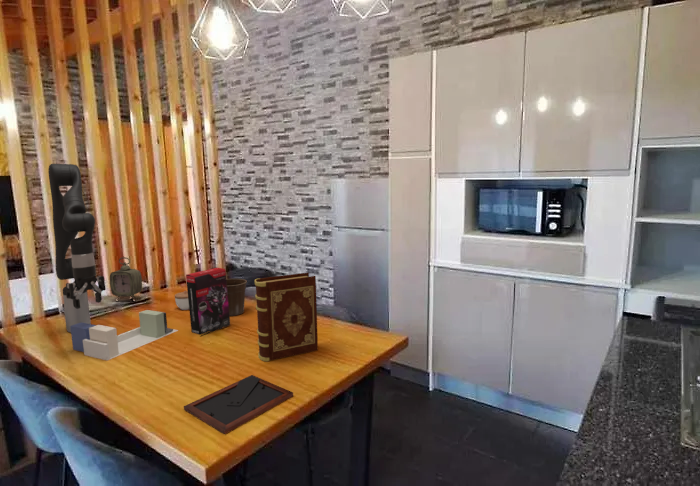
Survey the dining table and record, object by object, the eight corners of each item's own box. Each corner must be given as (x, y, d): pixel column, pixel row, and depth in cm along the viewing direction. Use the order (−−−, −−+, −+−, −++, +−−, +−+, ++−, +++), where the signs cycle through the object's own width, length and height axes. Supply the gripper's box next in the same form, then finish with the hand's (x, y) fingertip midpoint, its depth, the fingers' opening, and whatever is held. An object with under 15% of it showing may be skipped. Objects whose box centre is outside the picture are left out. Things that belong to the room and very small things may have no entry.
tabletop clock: (111, 302, 237) (107, 258, 233) (122, 297, 246) (118, 255, 242) (135, 302, 235) (130, 258, 231) (145, 298, 243) (141, 255, 240)
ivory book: (91, 354, 162) (88, 328, 161) (101, 350, 166) (98, 324, 164) (109, 358, 158) (106, 331, 156) (118, 354, 162) (116, 328, 160)
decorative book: (262, 362, 155) (258, 283, 150) (256, 355, 162) (252, 278, 157) (318, 350, 165) (316, 275, 160) (310, 343, 172) (308, 272, 167)
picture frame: (252, 379, 143) (184, 411, 124) (252, 374, 143) (183, 405, 124) (293, 397, 131) (224, 436, 111) (293, 391, 130) (224, 429, 111)
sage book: (140, 334, 182) (138, 312, 180) (148, 331, 186) (146, 309, 184) (157, 338, 178) (155, 315, 176) (165, 334, 181) (163, 312, 180)
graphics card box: (199, 337, 181) (195, 275, 176) (189, 334, 184) (184, 274, 180) (230, 326, 195) (227, 268, 191) (220, 323, 198) (217, 266, 194)
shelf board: (84, 357, 162) (82, 340, 161) (157, 328, 192) (156, 313, 191) (107, 363, 156) (105, 345, 155) (178, 332, 187) (177, 317, 186)
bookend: (151, 330, 186) (149, 310, 185) (158, 327, 190) (156, 308, 188) (165, 333, 182) (164, 313, 181) (173, 330, 186) (171, 310, 184)
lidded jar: (182, 304, 229) (181, 288, 228) (201, 305, 228) (199, 288, 226) (171, 311, 219) (170, 293, 217) (190, 311, 217) (189, 294, 216)
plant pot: (234, 306, 226) (232, 276, 223) (255, 311, 216) (253, 280, 214) (208, 314, 213) (206, 283, 210) (229, 320, 203) (227, 287, 201)
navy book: (73, 352, 167) (70, 325, 166) (84, 348, 171) (81, 322, 170) (88, 356, 164) (85, 329, 162) (99, 351, 168) (96, 325, 166)
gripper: (94, 260, 171) (98, 299, 174) (58, 267, 158) (63, 309, 161) (107, 262, 168) (111, 301, 171) (71, 269, 155) (76, 311, 158)
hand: (88, 305), depth 166 cm, fingers open, 8 cm apart
